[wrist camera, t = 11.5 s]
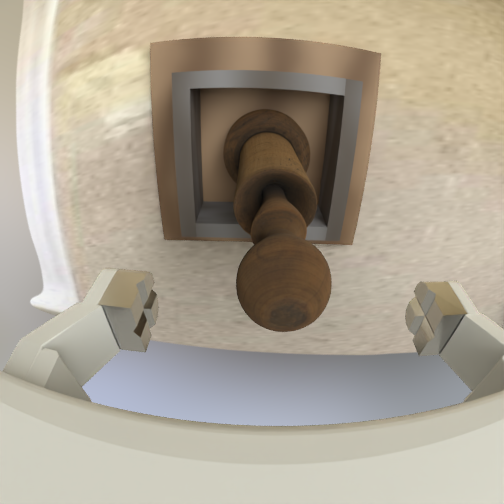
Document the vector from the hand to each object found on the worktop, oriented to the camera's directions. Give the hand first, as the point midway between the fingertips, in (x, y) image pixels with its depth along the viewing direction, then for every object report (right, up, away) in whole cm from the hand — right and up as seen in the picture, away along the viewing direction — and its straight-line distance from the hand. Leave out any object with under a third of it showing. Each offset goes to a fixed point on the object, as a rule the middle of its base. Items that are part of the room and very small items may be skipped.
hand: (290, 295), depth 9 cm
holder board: (0, +10, +15) cm, 18 cm away
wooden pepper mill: (0, +10, +15) cm, 18 cm away
